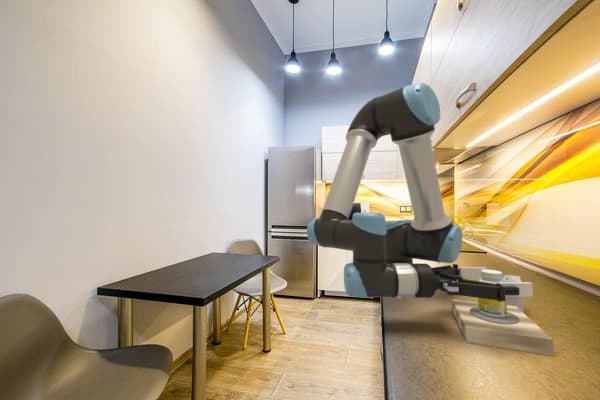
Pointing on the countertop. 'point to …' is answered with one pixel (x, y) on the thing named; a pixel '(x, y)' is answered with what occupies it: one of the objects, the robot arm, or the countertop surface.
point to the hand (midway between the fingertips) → (506, 280)
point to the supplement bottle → (489, 305)
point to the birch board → (501, 329)
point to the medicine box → (514, 300)
